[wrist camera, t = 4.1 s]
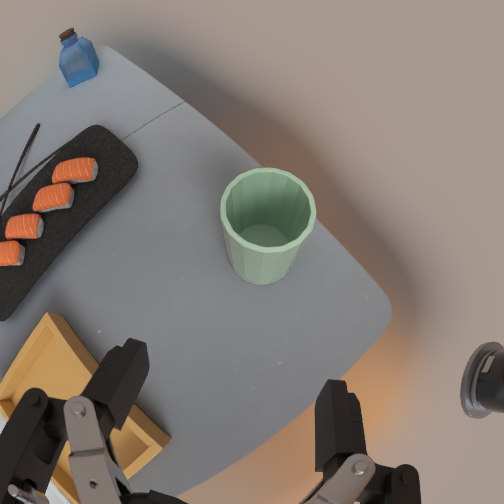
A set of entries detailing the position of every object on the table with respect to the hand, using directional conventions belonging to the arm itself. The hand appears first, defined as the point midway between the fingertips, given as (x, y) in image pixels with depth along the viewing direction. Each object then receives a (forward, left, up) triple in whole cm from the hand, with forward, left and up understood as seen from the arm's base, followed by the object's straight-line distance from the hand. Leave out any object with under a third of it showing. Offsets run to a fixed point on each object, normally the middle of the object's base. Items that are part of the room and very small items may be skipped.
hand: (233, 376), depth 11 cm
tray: (+8, +20, -15) cm, 26 cm away
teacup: (+5, -9, -15) cm, 18 cm away
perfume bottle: (+57, -15, -15) cm, 61 cm away
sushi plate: (+37, +6, -15) cm, 41 cm away
